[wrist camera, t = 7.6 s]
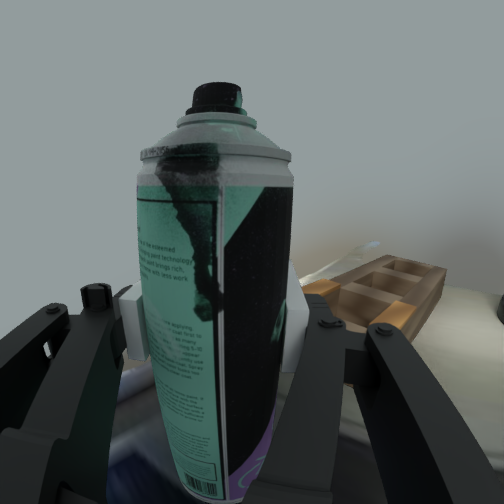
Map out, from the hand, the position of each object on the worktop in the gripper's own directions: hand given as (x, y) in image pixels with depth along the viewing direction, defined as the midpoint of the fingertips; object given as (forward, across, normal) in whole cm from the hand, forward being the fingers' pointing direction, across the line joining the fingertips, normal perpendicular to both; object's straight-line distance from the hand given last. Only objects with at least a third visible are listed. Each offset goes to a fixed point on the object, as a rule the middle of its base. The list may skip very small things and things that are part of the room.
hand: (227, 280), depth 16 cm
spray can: (-5, 0, -11) cm, 12 cm away
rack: (+17, +18, -11) cm, 28 cm away
